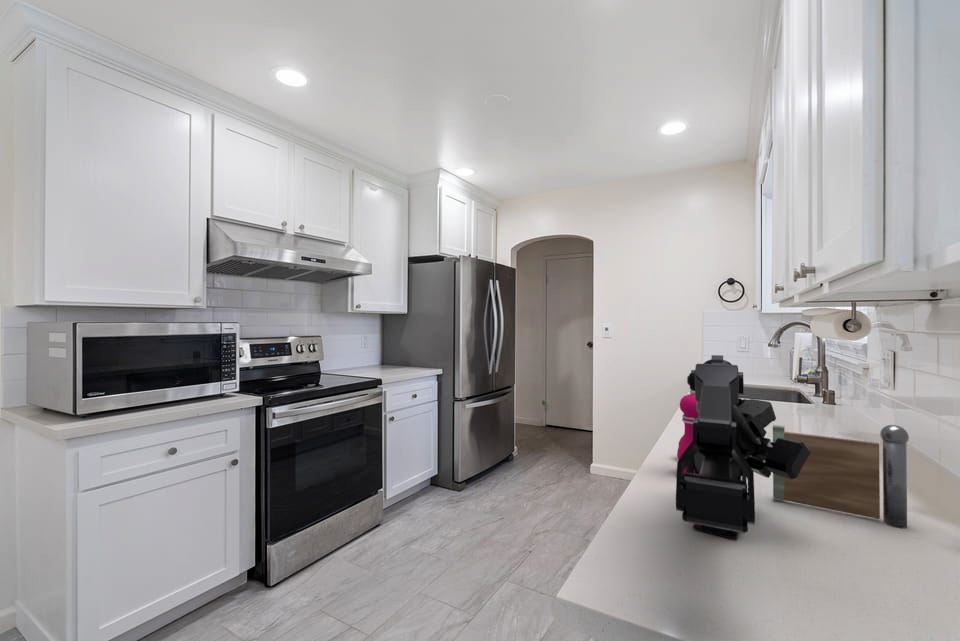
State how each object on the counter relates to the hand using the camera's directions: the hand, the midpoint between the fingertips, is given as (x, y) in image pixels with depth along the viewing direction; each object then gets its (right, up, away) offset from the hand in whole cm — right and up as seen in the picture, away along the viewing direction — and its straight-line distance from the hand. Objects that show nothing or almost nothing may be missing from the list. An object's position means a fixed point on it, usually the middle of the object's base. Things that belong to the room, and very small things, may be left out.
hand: (768, 475), depth 82 cm
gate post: (+18, -6, -6) cm, 20 cm away
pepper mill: (-4, -7, +19) cm, 21 cm away
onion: (0, -7, +30) cm, 31 cm away
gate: (+10, -6, 0) cm, 12 cm away
